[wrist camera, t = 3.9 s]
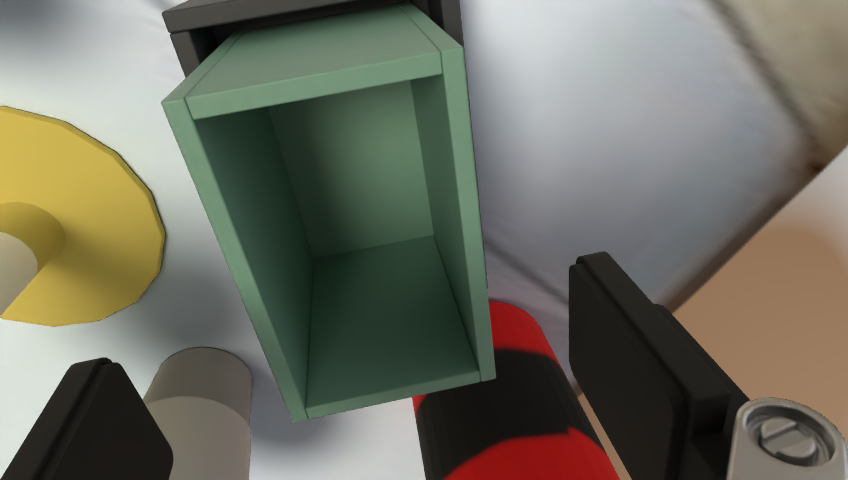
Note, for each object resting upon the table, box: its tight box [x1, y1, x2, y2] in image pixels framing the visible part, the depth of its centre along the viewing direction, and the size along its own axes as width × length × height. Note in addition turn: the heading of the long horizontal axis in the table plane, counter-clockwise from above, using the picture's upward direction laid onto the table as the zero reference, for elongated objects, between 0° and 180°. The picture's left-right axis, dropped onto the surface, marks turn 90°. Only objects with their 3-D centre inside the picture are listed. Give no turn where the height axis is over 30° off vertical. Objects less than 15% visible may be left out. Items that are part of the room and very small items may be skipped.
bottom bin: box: [162, 0, 488, 289], centre depth 20 cm, size 12×9×4 cm
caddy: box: [161, 1, 496, 422], centre depth 17 cm, size 10×6×9 cm, turn 8°
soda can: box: [412, 302, 620, 480], centre depth 23 cm, size 8×8×12 cm
